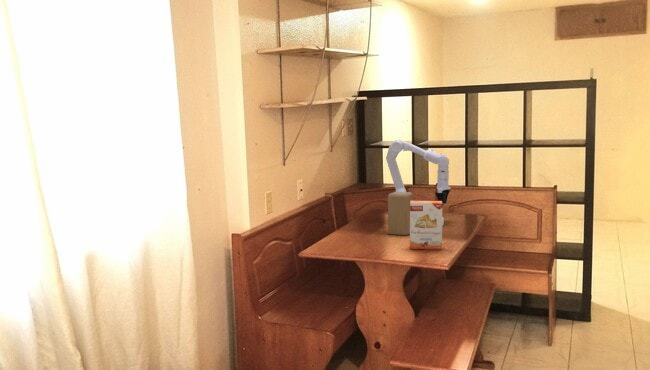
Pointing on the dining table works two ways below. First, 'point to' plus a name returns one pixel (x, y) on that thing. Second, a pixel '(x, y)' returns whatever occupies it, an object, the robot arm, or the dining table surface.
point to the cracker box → (426, 225)
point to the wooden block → (399, 213)
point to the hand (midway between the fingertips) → (442, 204)
